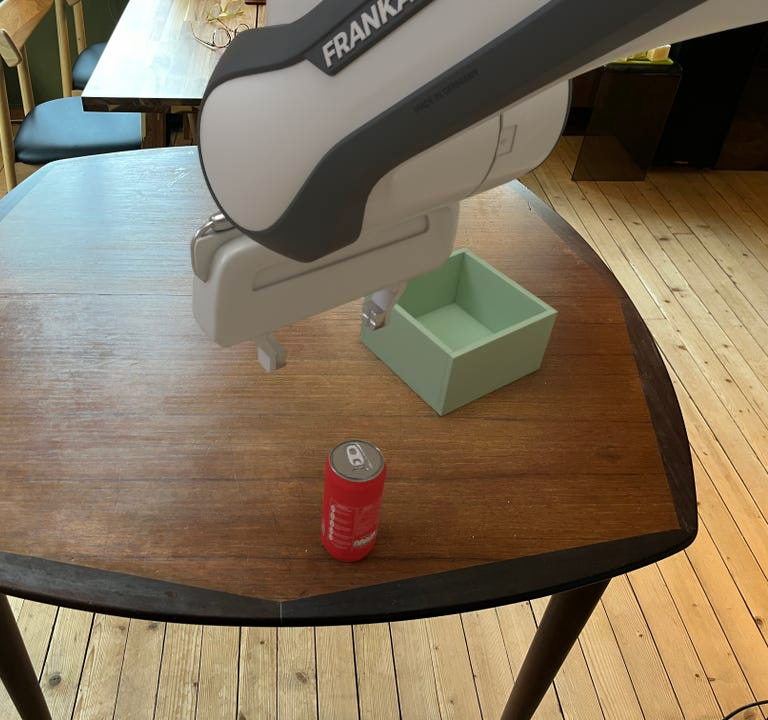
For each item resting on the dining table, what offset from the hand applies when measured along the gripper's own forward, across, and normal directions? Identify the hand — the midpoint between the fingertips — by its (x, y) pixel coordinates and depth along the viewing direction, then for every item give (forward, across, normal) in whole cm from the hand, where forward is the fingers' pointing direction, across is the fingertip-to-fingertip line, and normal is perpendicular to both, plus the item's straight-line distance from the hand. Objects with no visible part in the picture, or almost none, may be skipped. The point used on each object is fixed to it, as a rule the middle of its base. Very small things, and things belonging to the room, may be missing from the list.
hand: (325, 344), depth 56 cm
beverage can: (+23, +2, -3) cm, 24 cm away
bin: (+23, +28, +13) cm, 39 cm away
